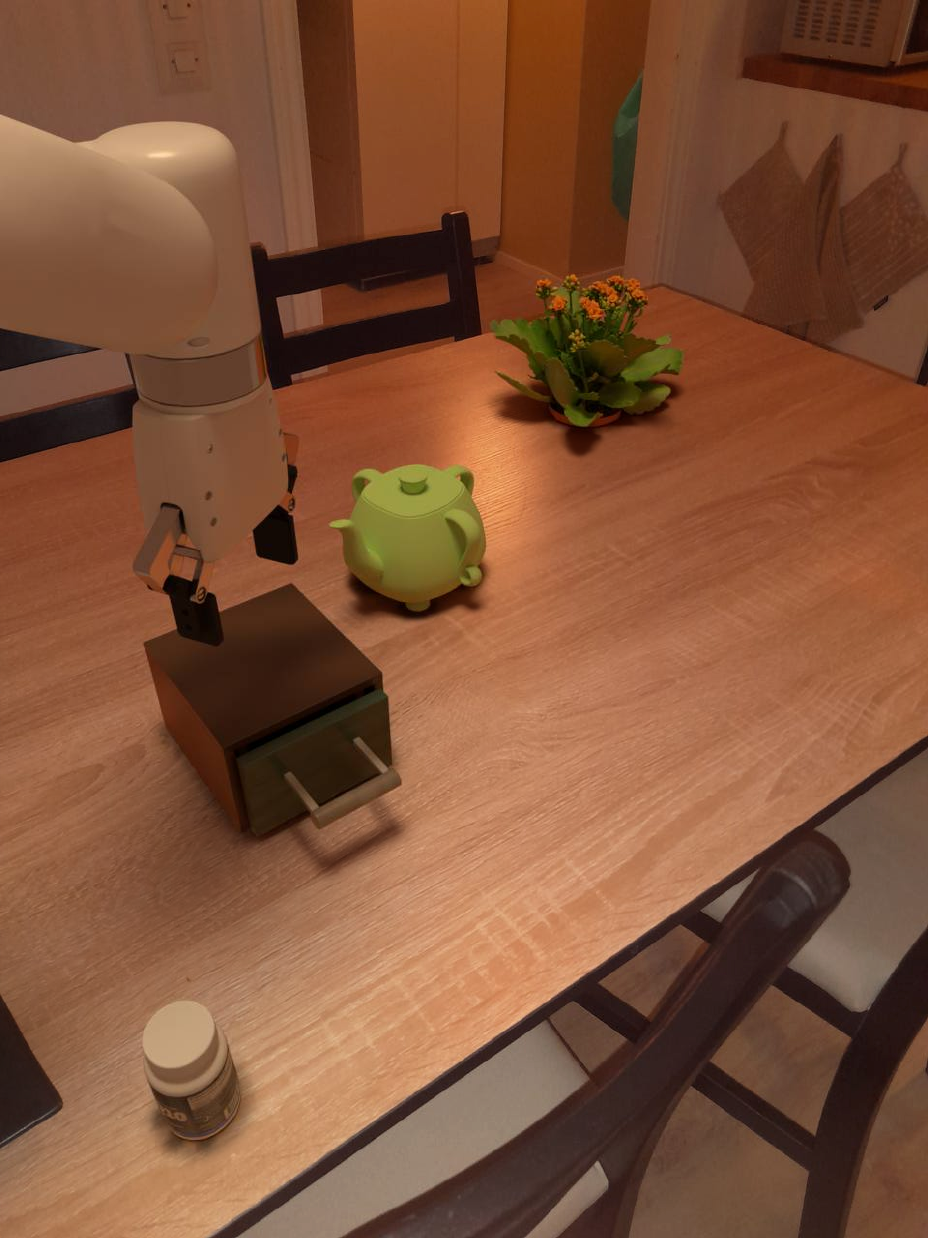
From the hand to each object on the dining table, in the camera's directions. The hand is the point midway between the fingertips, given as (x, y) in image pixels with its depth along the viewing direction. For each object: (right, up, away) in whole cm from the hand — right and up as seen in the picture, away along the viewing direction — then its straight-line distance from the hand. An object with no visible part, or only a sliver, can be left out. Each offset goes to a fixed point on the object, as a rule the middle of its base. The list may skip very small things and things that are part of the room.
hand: (241, 597), depth 67 cm
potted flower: (+31, +26, +64) cm, 76 cm away
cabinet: (-1, -12, +16) cm, 20 cm away
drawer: (+2, -14, +12) cm, 19 cm away
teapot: (+10, +2, +34) cm, 35 cm away
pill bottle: (-1, -31, -7) cm, 32 cm away
